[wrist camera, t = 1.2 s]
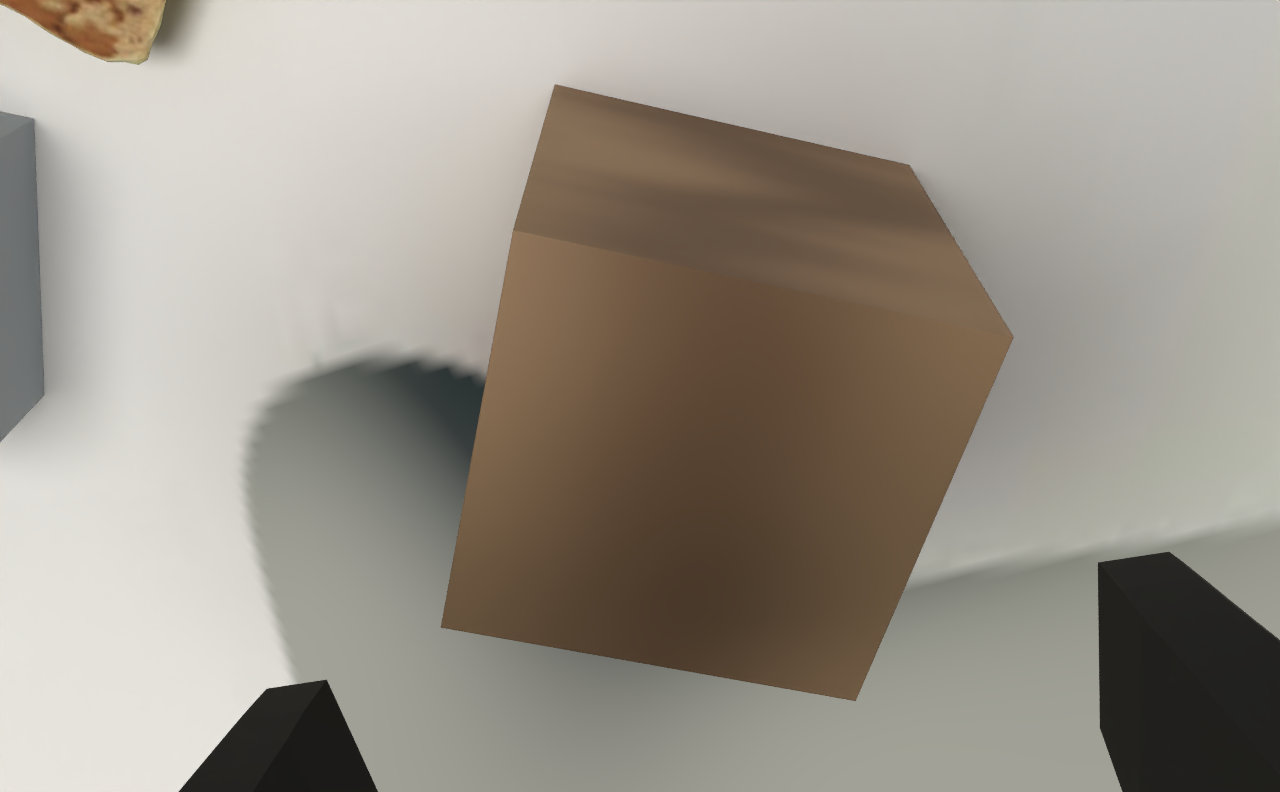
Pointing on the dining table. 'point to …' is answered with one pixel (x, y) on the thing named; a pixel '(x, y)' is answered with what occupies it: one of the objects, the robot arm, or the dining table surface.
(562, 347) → the walnut block
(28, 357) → the slate block
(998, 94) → the dining table surface
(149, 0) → the shard
